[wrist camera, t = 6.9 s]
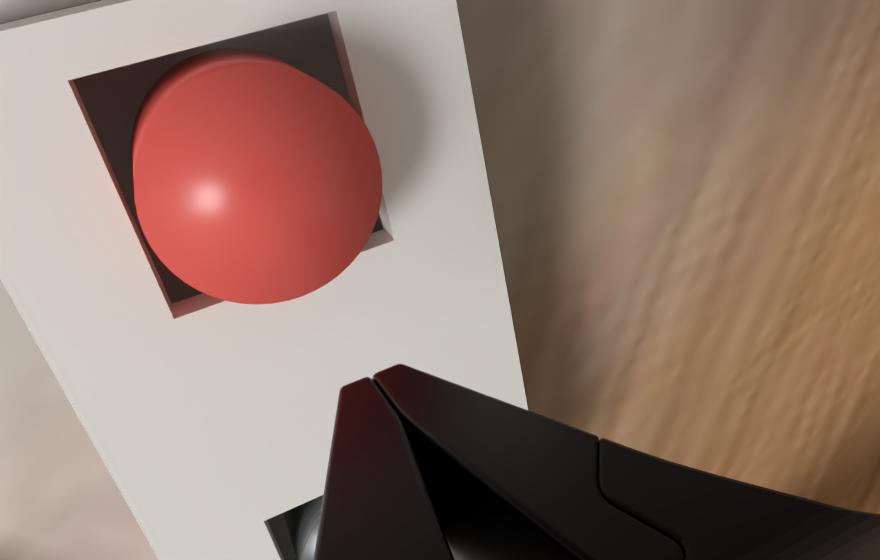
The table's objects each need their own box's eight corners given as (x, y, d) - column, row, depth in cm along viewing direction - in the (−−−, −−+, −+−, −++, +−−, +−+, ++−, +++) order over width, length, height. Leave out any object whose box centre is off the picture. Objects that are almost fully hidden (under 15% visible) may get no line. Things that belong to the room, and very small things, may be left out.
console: (380, -66, 17) (443, -74, 14) (496, 475, 26) (553, 552, 22) (-67, 39, 15) (-124, 61, 11) (226, 601, 23) (244, 711, 20)
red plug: (306, 24, 15) (349, 37, 12) (357, 210, 17) (404, 258, 14) (95, 80, 14) (88, 108, 11) (177, 271, 16) (189, 337, 13)
